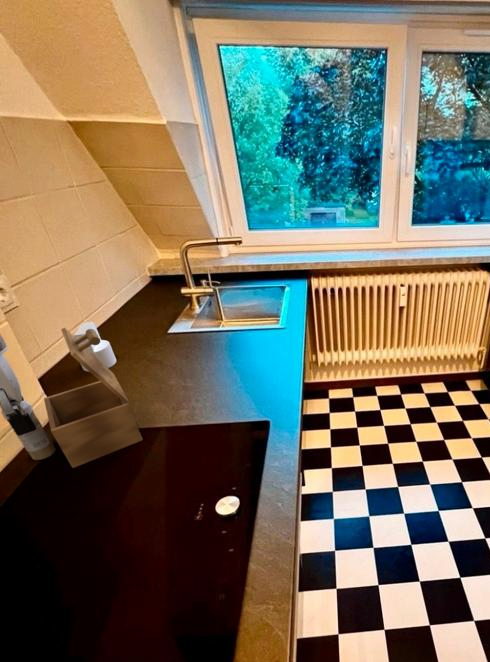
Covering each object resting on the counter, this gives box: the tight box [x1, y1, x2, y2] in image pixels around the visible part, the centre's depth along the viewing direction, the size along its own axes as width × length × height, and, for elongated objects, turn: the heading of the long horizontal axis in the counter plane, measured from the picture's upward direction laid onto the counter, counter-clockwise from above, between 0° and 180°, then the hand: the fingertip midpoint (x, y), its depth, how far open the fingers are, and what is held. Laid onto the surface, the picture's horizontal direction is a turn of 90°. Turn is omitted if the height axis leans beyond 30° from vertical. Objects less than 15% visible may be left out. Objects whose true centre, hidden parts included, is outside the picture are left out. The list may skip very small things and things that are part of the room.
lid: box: [60, 327, 130, 404], centre depth 82 cm, size 14×15×5 cm
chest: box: [43, 380, 144, 469], centre depth 86 cm, size 14×15×11 cm
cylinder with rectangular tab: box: [73, 321, 117, 373], centre depth 114 cm, size 9×9×12 cm
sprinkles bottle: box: [0, 400, 57, 461], centre depth 80 cm, size 5×5×13 cm
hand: (26, 424), depth 79 cm, fingers closed on sprinkles bottle, 4 cm apart
